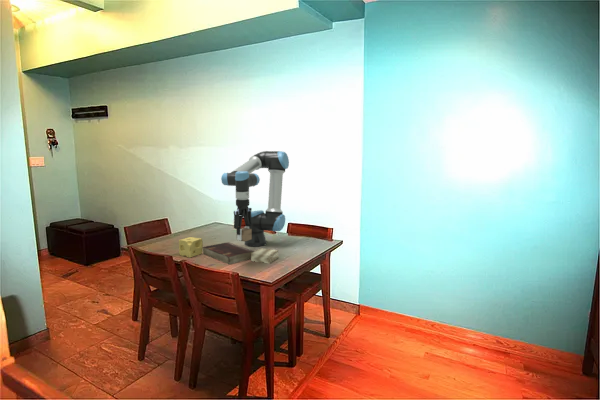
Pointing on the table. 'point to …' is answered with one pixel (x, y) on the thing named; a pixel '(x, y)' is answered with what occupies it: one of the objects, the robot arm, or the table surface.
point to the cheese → (190, 246)
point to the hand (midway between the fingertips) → (243, 238)
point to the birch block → (264, 255)
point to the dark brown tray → (228, 252)
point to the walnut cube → (246, 234)
